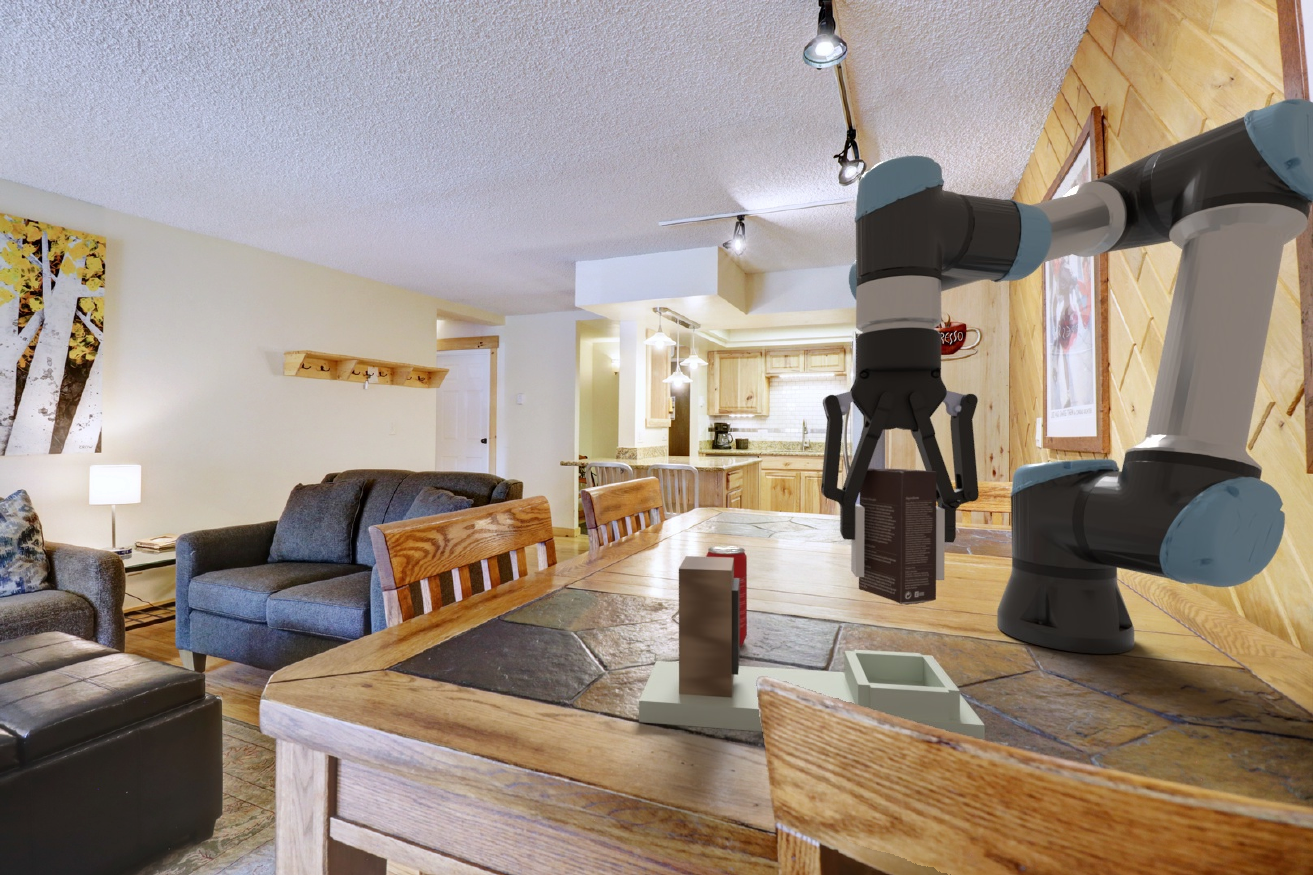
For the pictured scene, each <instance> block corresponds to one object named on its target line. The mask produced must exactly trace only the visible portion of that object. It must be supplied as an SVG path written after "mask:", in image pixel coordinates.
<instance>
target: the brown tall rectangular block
mask: <svg viewBox="0 0 1313 875" xmlns="http://www.w3.org/2000/svg"><path fill="white" fill-rule="evenodd" d="M740 647H741V646H740V578H734V558H730V557H706V556H693V555H691V556H689V555H687V556H685V557H684V559H683V560H682V561H681V564H680V566H679V567H678V662H679V694H685V695H700V696H715V697H729V698H732V689H733V678H734V675H738V671H739V666H740V655H741V653H740V651H741V650H740V649H741V648H740Z"/></svg>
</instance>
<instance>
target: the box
mask: <svg viewBox="0 0 1313 875" xmlns="http://www.w3.org/2000/svg"><path fill="white" fill-rule="evenodd" d="M936 475H937V472H936V471H926V470H920V469H907V468H906V469H903V468H884V467H883V468H878V467H875V468H874V467H873V468H871V467H868V470H867V473H866V476H865V479H864V481H863V484H862V487H861V490H860V493H859V504H860V505H861V506H863V507H864V577H858V590H860V591H863V592H867V593H869V594H873V595H875V596H879V597H881V598H884V599H888V600H891V601H893V602H896V603H897V604H898V603H899V605H905V606H907V605H908V606H909V605H916V604H923V603H924V604H925V603H928V602H932V601H936V600H937V580H936V506H937V501H936V498H937V497H936Z"/></svg>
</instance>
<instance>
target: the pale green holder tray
mask: <svg viewBox="0 0 1313 875" xmlns="http://www.w3.org/2000/svg"><path fill="white" fill-rule="evenodd" d="M843 657H844V671H834V670H833V671H830V670H814V669H813V670H812V669H799V668H798V669H797V668H783V667H782V668H780V667H779V668H778V667H767V666H766V667H761V666H749V665H747V666H746V665H739V671H738V675H734V678H733V689H732V698H729V697H715V696H700V695H685V694H679V661H678V662H677V661H663V660H656V662H655V664H654V665H653V668H652V671H651V673H650V674H649V677H648V680H647V682H646V684H645V687H644V688H643V691H642V693H641V695H640V697H639V700H638V722H639V723H647V724H648V723H649V724H660V725H661V724H662V725H673V726H674V725H676V726H687V727H700V728H712V729H713V728H714V729H715V728H716V729H728V730H737V731H739V730H740V731H750V732H751V731H752V732H763V731H762V726H761V723H760V717H759V708H758V697H757V686H756V680H757V678H758V677H759V676H768V677H771V678H775V679H779V680H781V681H787V682H789V683H792V684H793V685H799V686H800V687H804V688H806V689H810V690H813V691H816V692H817V693H822V694H824V695H826V696H830V697H833V698H839V699H841V700H843V701H846V702H852V703H854V704H856V705H860V706H864V707H869V708H871V709H873V710H879V711H882V712H885V713H886V714H890V715H894V716H899V717H901V718H904V719H909V720H913V721H915V722H917V723H923V724H925V725H929V726H933V727H935V728H941V729H945V730H946V731H949V732H957V733H959V734H963V735H967V736H973V737H976V738H980V739H983V740H985V738H986V736H985V734H986V732H985V730H986V726H985V724H984V722H983V721H982V720H981V718H980V717H979V715H978V714H977V713H976V712H975V711H974V709H973V708H972V706H970V704H969V703H968V702H967V701H966V699H965V698H964V696H963V695H962V694H961V690H960V689H959V687H958V686H957V685H956V684H955V683H954V681H953V680H952V679H951V678H950V676H949V675H948V674H947V672H945V670H944V668H943V667H942V666H941V665H940V664H939V662H938V661H937V660H936V658H934V656H933V655H931V654H930V655H928V654H921V652H905V651H904V652H903V651H887V650H886V651H885V650H869V649H867V650H865V649H853V650H844V656H843ZM985 741H986V740H985Z"/></svg>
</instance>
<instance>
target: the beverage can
mask: <svg viewBox="0 0 1313 875" xmlns="http://www.w3.org/2000/svg"><path fill="white" fill-rule="evenodd" d="M707 551H708V552H706V555H705V557H730V558H734V578H740V647H742V646H743V645H744V644H745V640H746V637H747V636H748V600H747V599H748V598H747V597H748V595H747V594H748V593H747V592H748V586H747V585H748V583H747V582H748V574H747V572H748V567H747V566H748V564H747V563H748V562H747V561H748V556H747V555H746V552H745V551H746V550H745V548H742V547H739V546H732V545H731V546H729V545H720V546H718V545H717V546H712V547H709V548H707Z"/></svg>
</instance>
